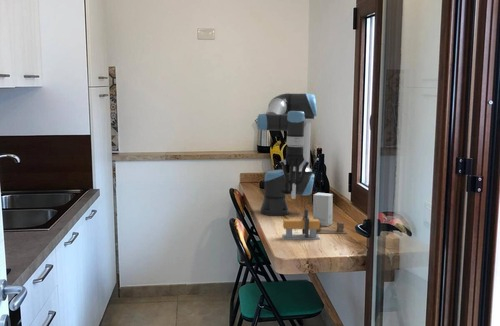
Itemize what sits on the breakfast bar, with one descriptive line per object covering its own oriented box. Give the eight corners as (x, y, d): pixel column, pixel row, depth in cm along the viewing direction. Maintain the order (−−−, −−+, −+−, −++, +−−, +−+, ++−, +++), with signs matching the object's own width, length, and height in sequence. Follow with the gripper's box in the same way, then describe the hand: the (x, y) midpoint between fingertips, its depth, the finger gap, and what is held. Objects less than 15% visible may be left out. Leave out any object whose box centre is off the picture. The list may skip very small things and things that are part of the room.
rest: (310, 230, 247) (311, 221, 246) (343, 230, 248) (344, 221, 247) (313, 233, 241) (313, 224, 240) (346, 233, 242) (347, 224, 241)
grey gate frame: (302, 233, 238) (303, 207, 236) (305, 233, 238) (306, 207, 236) (304, 237, 231) (305, 211, 229) (308, 237, 231) (309, 211, 229)
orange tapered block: (283, 226, 235) (283, 219, 234) (317, 226, 236) (317, 219, 236) (284, 229, 231) (284, 221, 230) (319, 228, 232) (319, 221, 232)
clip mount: (282, 235, 237) (282, 226, 236) (316, 235, 238) (317, 225, 237) (284, 239, 230) (284, 229, 230) (319, 239, 232) (320, 229, 231)
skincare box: (332, 224, 259) (333, 193, 257) (327, 227, 253) (328, 196, 251) (317, 221, 263) (318, 191, 261) (311, 224, 257) (313, 194, 255)
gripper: (281, 146, 224) (280, 199, 227) (311, 147, 225) (309, 200, 228) (279, 145, 231) (277, 196, 234) (307, 145, 232) (306, 196, 235)
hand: (293, 198), depth 231 cm, fingers closed
